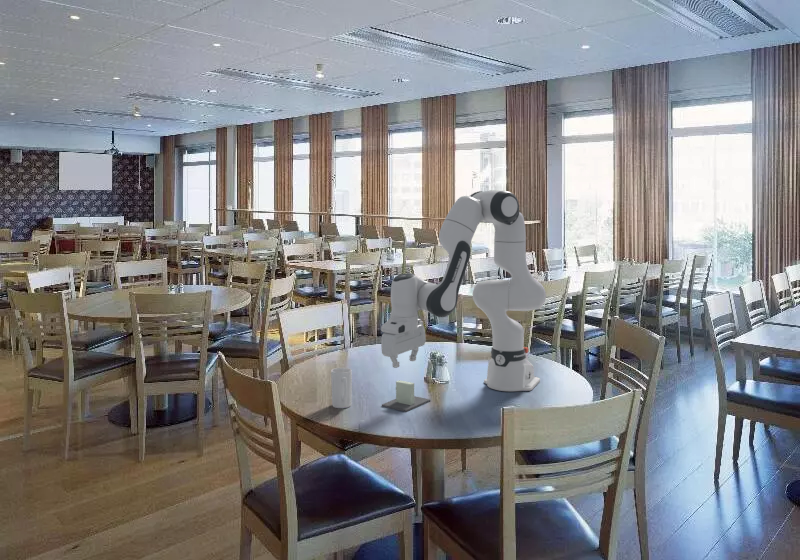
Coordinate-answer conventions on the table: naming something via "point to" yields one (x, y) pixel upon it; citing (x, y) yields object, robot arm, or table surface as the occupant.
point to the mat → (405, 407)
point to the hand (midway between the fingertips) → (404, 364)
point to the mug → (341, 387)
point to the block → (405, 392)
